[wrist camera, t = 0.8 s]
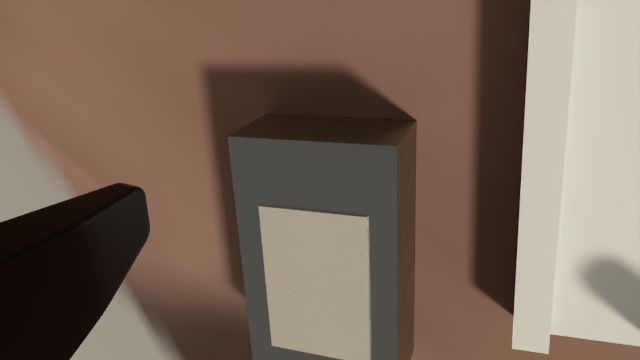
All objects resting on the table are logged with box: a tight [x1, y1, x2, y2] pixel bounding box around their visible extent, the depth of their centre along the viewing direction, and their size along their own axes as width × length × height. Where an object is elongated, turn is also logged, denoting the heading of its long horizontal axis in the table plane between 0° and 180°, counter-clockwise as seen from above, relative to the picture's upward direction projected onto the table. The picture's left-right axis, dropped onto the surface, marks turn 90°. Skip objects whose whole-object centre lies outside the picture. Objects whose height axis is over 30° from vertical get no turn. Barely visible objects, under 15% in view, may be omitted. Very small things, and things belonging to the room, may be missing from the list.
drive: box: [227, 114, 417, 360], centre depth 21 cm, size 10×6×4 cm, turn 3°
